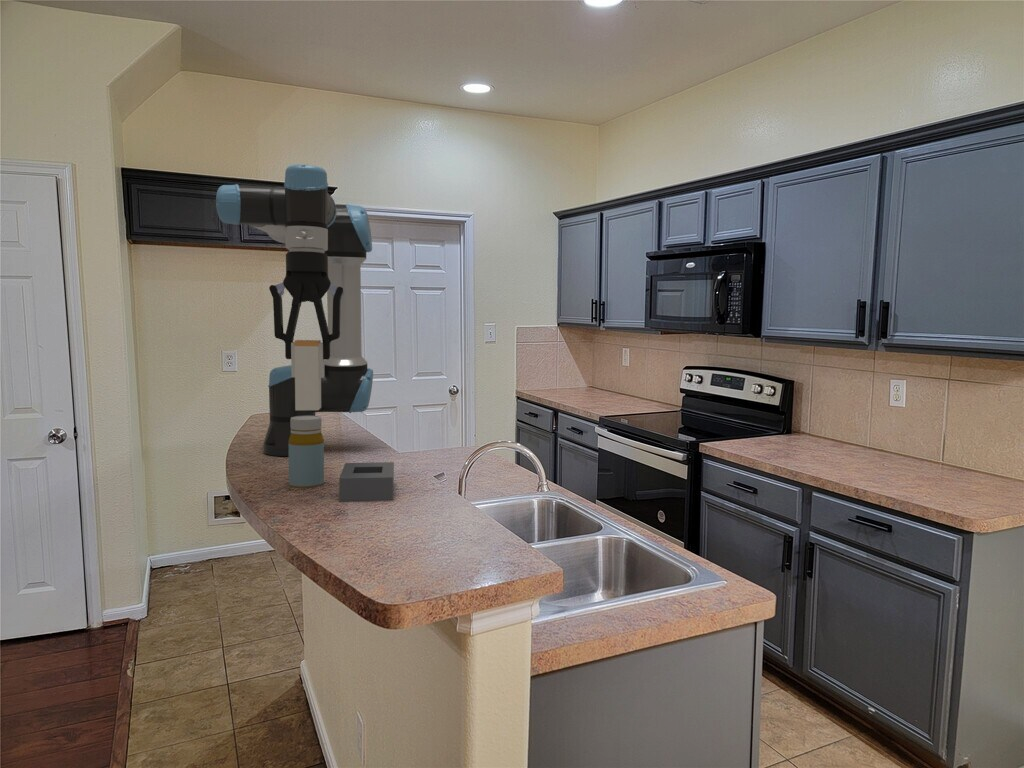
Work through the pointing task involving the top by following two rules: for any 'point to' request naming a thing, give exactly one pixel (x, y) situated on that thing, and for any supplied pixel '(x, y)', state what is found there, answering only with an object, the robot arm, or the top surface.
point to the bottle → (306, 452)
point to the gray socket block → (366, 482)
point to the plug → (307, 375)
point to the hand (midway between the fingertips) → (308, 376)
